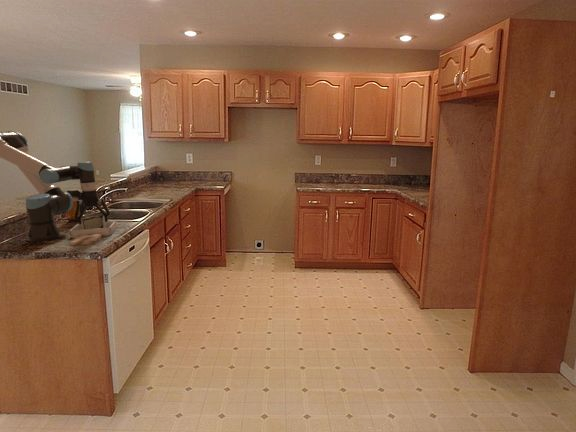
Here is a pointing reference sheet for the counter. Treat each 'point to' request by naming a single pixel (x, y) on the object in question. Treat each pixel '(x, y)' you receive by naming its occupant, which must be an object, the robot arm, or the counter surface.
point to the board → (86, 239)
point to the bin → (93, 230)
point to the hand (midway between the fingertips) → (94, 228)
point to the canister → (75, 205)
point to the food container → (92, 221)
